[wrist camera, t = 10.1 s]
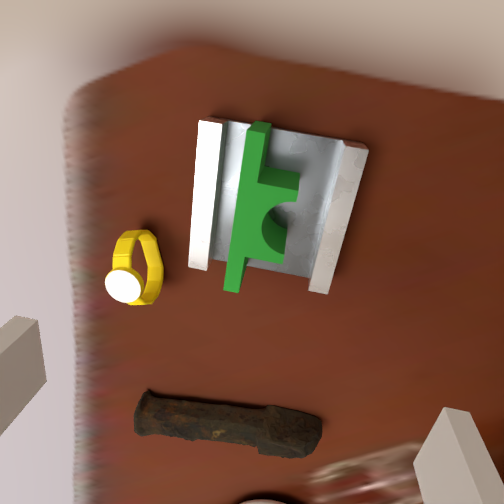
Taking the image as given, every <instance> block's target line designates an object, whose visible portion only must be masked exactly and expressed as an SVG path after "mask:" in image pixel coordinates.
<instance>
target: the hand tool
mask: <svg viewBox="0 0 504 504" xmlns="http://www.w3.org/2000/svg"><path fill="white" fill-rule="evenodd" d="M134 431H135V433H137V434H138V435H139V436H147V435H151V434H161V435H165V436H170V437H173V436H174V437H178V438H184V439H185V440H191V441H195V440H196V439H201V440H210V441H222V442H228V443H237V444H242V445H250V446H253V447H255V446H257V448H258V452H259V454H263V455H269V456H280V457H282V458H284V457H286V458H304V457H306V456H307V455H309V454H311V453H312V452H313V451H314V450H315V447H316V446H317V444H318V442H319V441H320V439H321V437H322V422H321V420H320V419H318V418H316V417H315V416H312V415H309V414H306V413H303V412H300V411H295V410H291V409H285V408H281V407H277V406H274V405H267V406H266V407H265V408H264V409H250V408H243V407H237V406H230V405H227V404H224V405H217V404H207V403H200V402H193V401H185V400H176V399H164V398H157V397H153V396H152V395H151V392H150V391H146V392H144V393H143V395H142V397H141V399H140V401H139V402H138V405H137V407H136V410H135V413H134Z"/></svg>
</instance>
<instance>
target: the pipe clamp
mask: <svg viewBox="0 0 504 504" xmlns="http://www.w3.org/2000/svg"><path fill="white" fill-rule="evenodd" d="M271 125H272V124H271V123H266V122H261V121H255V122H254V123H253V124H252V125H251V126H250V127H249V128H248V129H247V130H246V137H245V144H244V151H243V158H242V165H241V172H240V178H239V185H238V192H237V199H236V206H235V213H234V220H233V227H232V234H231V241H230V248H229V254H228V261H227V268H226V275H225V282H224V289H223V290H226V291H231V292H236V293H239V290H240V287H241V283H242V280H243V277H244V273H245V270H246V267H247V263H248V258H253V259H258V260H263V261H268V262H273V263H278V264H283V259H284V255H285V246H286V238H287V229H285V228H282V227H280V226H278V225H277V224H276V223H275V222H274V221H273V220H272V219H271V217H270V215H269V212H268V211H269V210H270V209H271V208H273V207H274V206H276V205H278V204H280V203H284V202H296V201H297V197H298V192H299V179H300V173H297V172H292V171H287V170H281V169H276V168H271V167H266V166H264V165H265V160H266V154H267V148H268V142H269V137H270V131H271Z"/></svg>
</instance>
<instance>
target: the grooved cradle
mask: <svg viewBox="0 0 504 504" xmlns="http://www.w3.org/2000/svg"><path fill="white" fill-rule="evenodd" d="M252 124H253V123H248V122H243V121H237V120H231V119H225V118H219V117H214V116H208V117H206V118H204V119H202V120H199V130H198V144H197V157H196V170H195V183H194V196H193V209H192V222H191V235H190V249H189V262H188V267H191V268H196V269H201V270H206V271H207V269H208V267H209V265H210V263H211V261H212V259H215V260H221V261H226V262H227V261H228V254H229V248H230V241H231V234H232V227H233V220H234V213H235V206H236V199H237V192H238V185H239V178H240V172H241V165H242V158H243V151H244V144H245V137H246V130H247V129H248V128H249V127H250V126H251V125H252ZM368 152H369V150H368V148H367V147H366V146H365V144H364V143H363V142H358V141H352V140H346V139H341V138H335V137H329V136H323V135H318V134H312V133H306V132H300V131H294V130H289V129H283V128H277V127H271V131H270V137H269V142H268V148H267V154H266V160H265V165H264V166H266V167H271V168H276V169H281V170H287V171H292V172H297V173H300V179H299V192H298V197H297V201H296V202H284V203H280V204H278V205H276V206H274V207H273V208H271V209H270V210H269V211H268V212H269V215H270V217H271V219H272V220H273V221H274V222H275V223H276V224H277V225H278V226H280V227H282V228H285V229H287V238H286V246H285V255H284V259H283V264H278V263H273V262H268V261H263V260H258V259H253V258H248V263H247V266H251V267H256V268H262V269H267V270H272V271H277V272H282V273H287V274H292V275H298V276H303V277H308V291H313V292H318V293H323V294H328V291H329V288H330V284H331V281H332V277H333V274H334V270H335V267H336V263H337V260H338V256H339V253H340V249H341V246H342V242H343V239H344V235H345V232H346V228H347V225H348V221H349V218H350V215H351V211H352V208H353V204H354V201H355V197H356V194H357V190H358V187H359V183H360V180H361V176H362V173H363V169H364V166H365V162H366V159H367V155H368Z"/></svg>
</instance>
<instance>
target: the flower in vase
mask: <svg viewBox="0 0 504 504" xmlns="http://www.w3.org/2000/svg"><path fill="white" fill-rule="evenodd" d="M240 504H285V503H282V502H278V501H273V500H262V499H259V500H250V501H246V502H243V503H240Z"/></svg>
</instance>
